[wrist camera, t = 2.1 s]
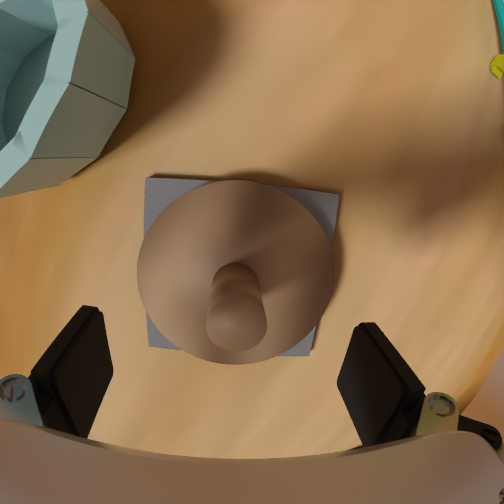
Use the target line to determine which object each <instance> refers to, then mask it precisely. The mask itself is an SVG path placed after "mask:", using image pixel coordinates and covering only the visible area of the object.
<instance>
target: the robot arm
mask: <svg viewBox="0 0 504 504" xmlns="http://www.w3.org/2000/svg"><path fill="white" fill-rule="evenodd" d="M112 376H113V365H112V360H111V355H110V350H109V345H108V340H107V335H106V329H105V323H104V316H103V313H102V312H100V311H99V309H98V308H97V307H93V306H86V305H83V306H82V307H81V308H80V309H79V310H78V311H77V313H76V314H75V315H74V316H73V317H72V319H71V320H70V321H69V322H68V323H67V325H66V326H65V327H64V328H63V330H62V331H61V332H60V333H59V335H58V336H57V337H56V338H55V340H54V341H53V342H52V344H51V345H50V346H49V348H48V349H47V350H46V351H45V353H44V354H43V355H42V357H41V358H40V359H39V361H38V362H37V364H36V365H35V366H34V368H33V369H32V370H31V375H30V376H29V377H28V378H27V377H25V376H23V375H19V374H13V375H8V376H6V377H4V378H2V379H1V380H0V504H504V443H503V444H502V437H501V435H500V433H499V431H498V430H497V429H496V428H494V427H493V426H490V425H488V424H485V423H482V422H479V421H476V420H473V419H470V418H467V417H464V416H461V415H459V407H458V405H457V403H456V401H455V400H454V399H453V398H452V397H450V396H449V395H447V394H444V393H440V392H433V393H430V394H428V395H427V396H426V395H425V394H424V391H425V389H426V388H425V387H424V385H423V384H422V383H421V381H420V380H419V379H418V377H417V376H416V375H415V373H414V372H413V371H412V369H411V368H410V367H409V365H408V364H407V363H406V361H405V360H404V359H403V358H402V356H401V355H400V354H399V352H398V351H397V350H396V349H395V347H394V346H393V345H392V343H391V342H390V341H389V340H388V338H387V337H386V336H385V335H384V333H383V332H382V331H381V330H380V328H379V327H378V326H377V325H376V323H374V322H367V323H360V324H359V325H358V326H356V327H355V328H354V330H353V334H352V337H351V340H350V343H349V346H348V349H347V352H346V355H345V358H344V361H343V364H342V367H341V370H340V373H339V376H338V379H337V387H338V389H339V391H340V394H341V396H342V398H343V400H344V403H345V405H346V407H347V410H348V412H349V414H350V416H351V419H352V421H353V423H354V426H355V428H356V430H357V433H358V435H359V437H360V440H361V442H362V444H363V447H362V448H359V449H353V450H347V451H341V452H335V453H327V454H320V455H311V456H301V457H288V458H270V459H218V458H201V457H188V456H178V455H169V454H161V453H154V452H148V451H142V450H136V449H131V448H125V447H120V446H116V445H111V444H107V443H102V442H98V441H94V440H90V439H87V438H88V435H89V432H90V430H91V427H92V425H93V422H94V419H95V417H96V414H97V412H98V409H99V407H100V405H101V402H102V400H103V397H104V395H105V393H106V390H107V388H108V386H109V383H110V381H111V379H112Z"/></svg>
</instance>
